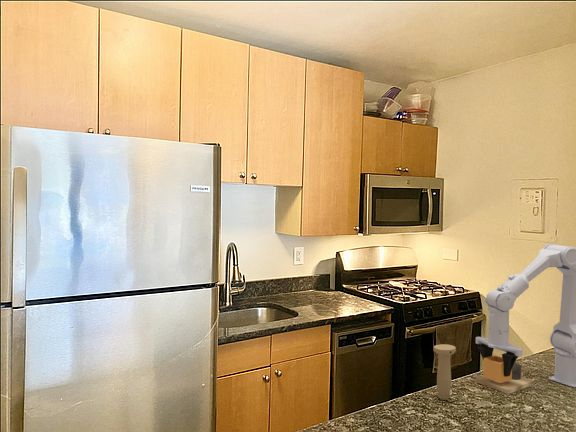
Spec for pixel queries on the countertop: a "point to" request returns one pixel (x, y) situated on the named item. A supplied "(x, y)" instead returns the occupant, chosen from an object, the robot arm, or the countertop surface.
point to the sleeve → (495, 369)
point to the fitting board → (511, 385)
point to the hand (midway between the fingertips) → (497, 372)
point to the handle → (444, 369)
